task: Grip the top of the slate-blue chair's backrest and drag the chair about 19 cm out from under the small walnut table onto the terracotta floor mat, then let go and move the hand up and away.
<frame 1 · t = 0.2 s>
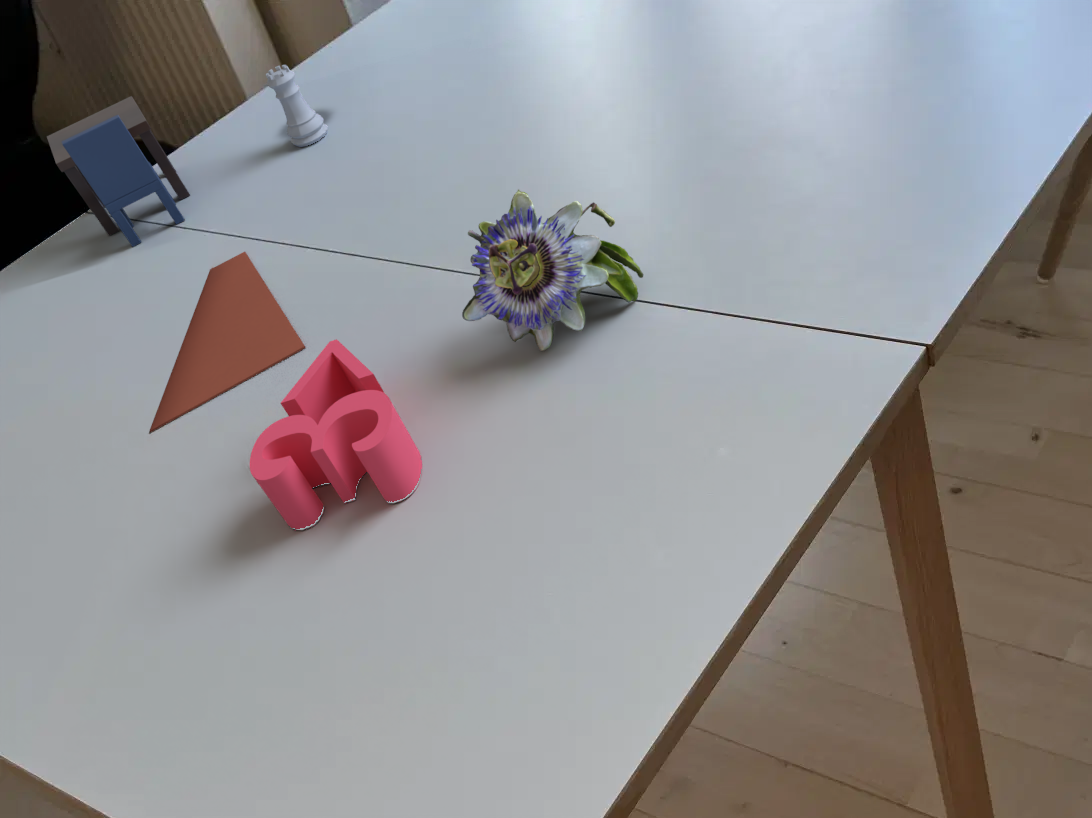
letters: (358, 451, 80), on the table
floor mat: (202, 334, 98), on the table
side table: (143, 201, 124), on the table
chair: (154, 224, 119), on the table
rook chess piece: (312, 139, 124), on the table
passion flower: (564, 314, 85), on the table
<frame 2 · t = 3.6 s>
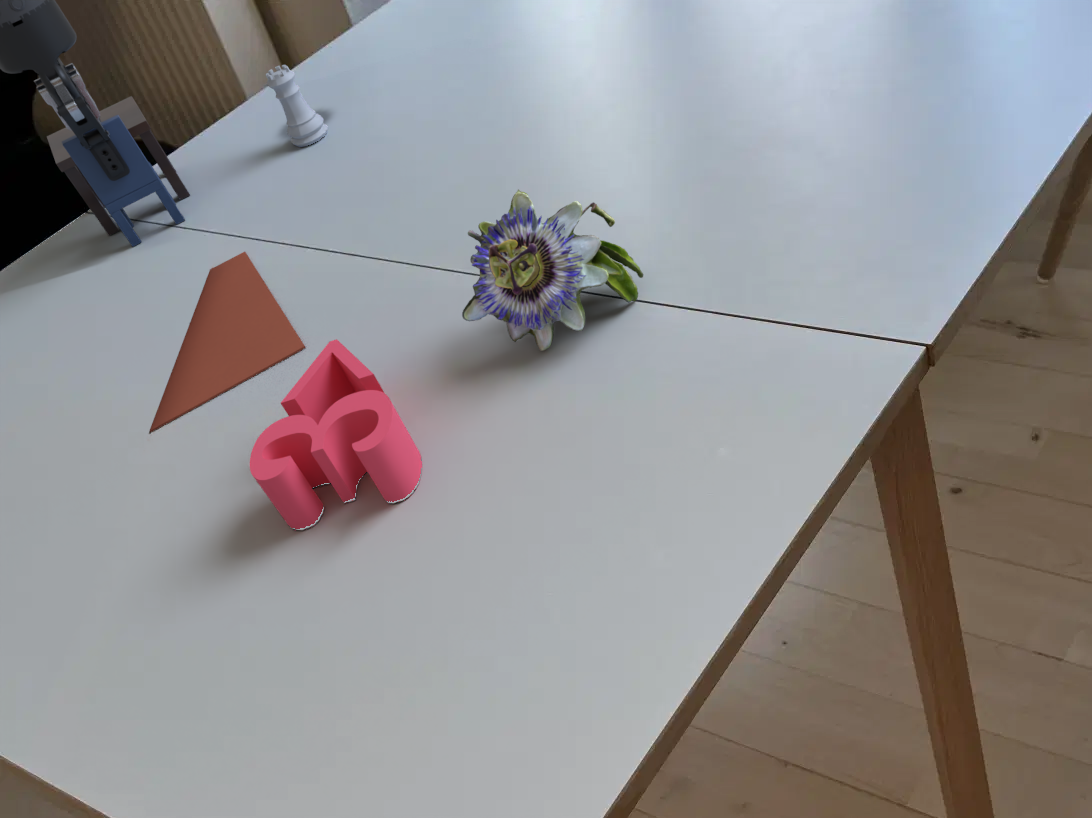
hand: (119, 173, 112), 7 cm above the table, tool pointing down, fingers closed on chair
chair: (154, 224, 119), on the table, touching gripper
everything else where it was.
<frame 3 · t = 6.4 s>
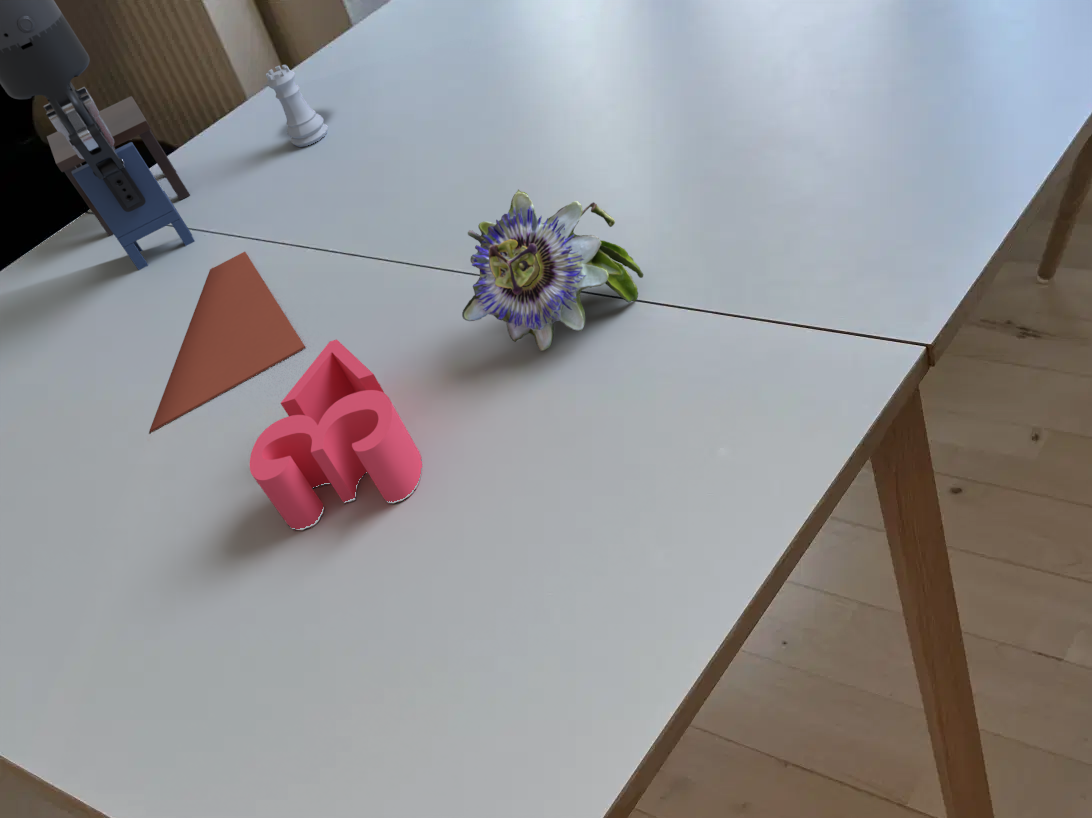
hand: (134, 204, 105), 7 cm above the table, tool pointing down, fingers closed on chair
chair: (169, 256, 111), on the table, touching gripper
everything else where it was.
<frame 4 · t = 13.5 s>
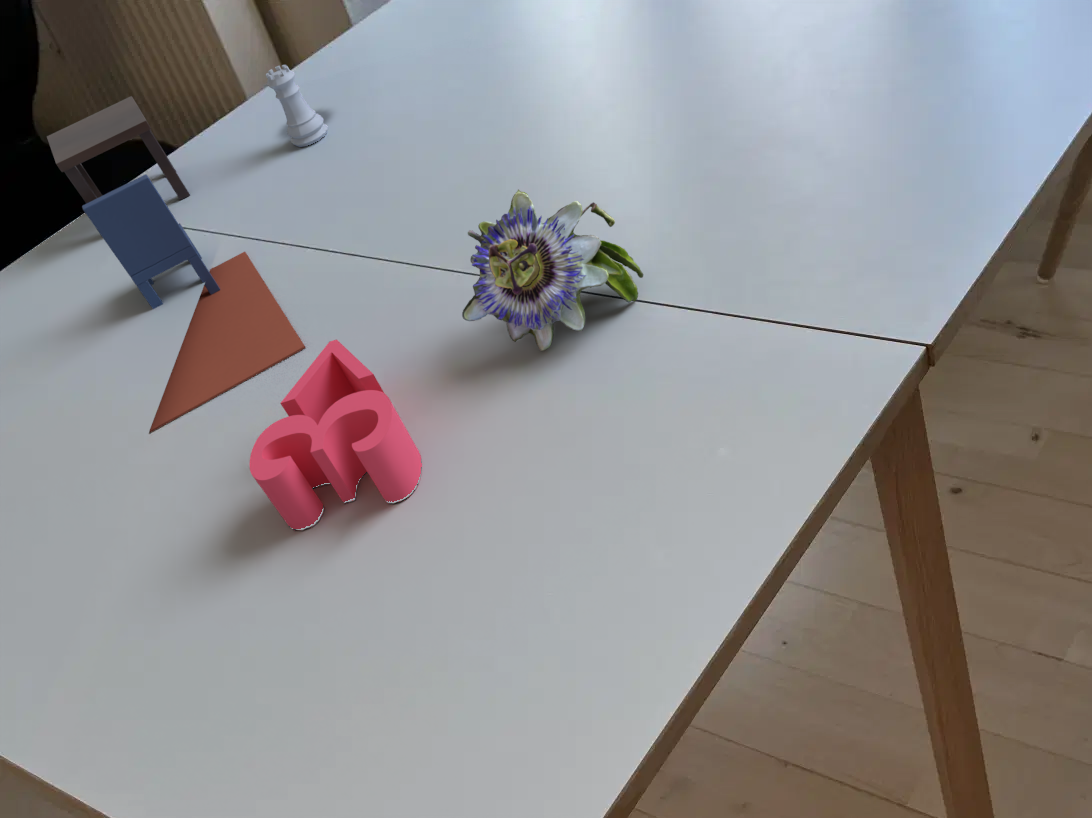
chair: (185, 293, 105), resting on floor mat
everything else where it was.
at the end: chair inside the target area on the table beside the side table (1.2 cm from its centre), resting on floor mat; chair inside the target area on the floor mat (0.3 cm from its centre), point 0.2 cm above the floor mat's base; chair tilted 0° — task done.
